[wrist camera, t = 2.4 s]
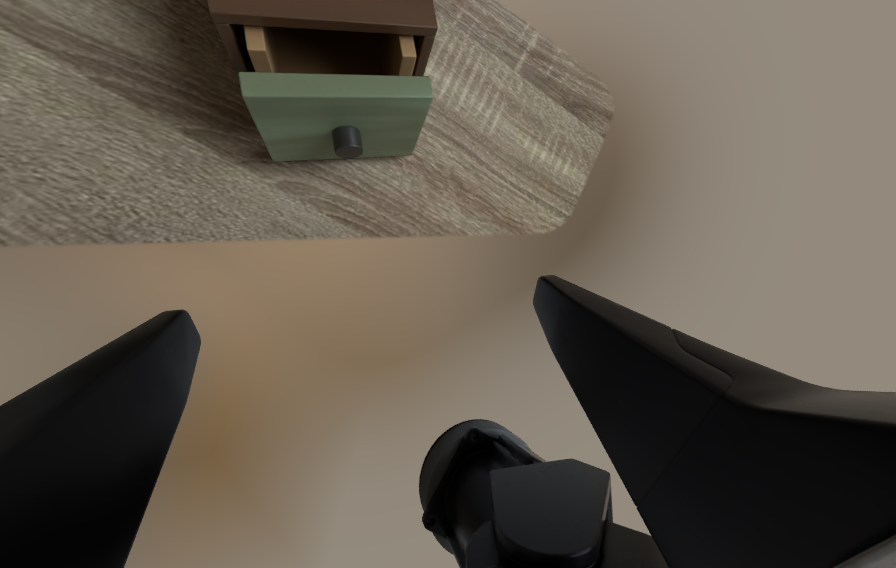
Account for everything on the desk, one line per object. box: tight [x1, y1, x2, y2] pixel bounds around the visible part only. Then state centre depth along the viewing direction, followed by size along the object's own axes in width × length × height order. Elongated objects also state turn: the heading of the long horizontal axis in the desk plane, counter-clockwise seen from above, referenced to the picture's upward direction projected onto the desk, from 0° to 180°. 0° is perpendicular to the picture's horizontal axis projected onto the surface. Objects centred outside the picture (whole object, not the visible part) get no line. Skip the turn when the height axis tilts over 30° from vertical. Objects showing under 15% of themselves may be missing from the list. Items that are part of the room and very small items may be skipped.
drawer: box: [238, 25, 434, 162], centre depth 20 cm, size 10×9×7 cm
